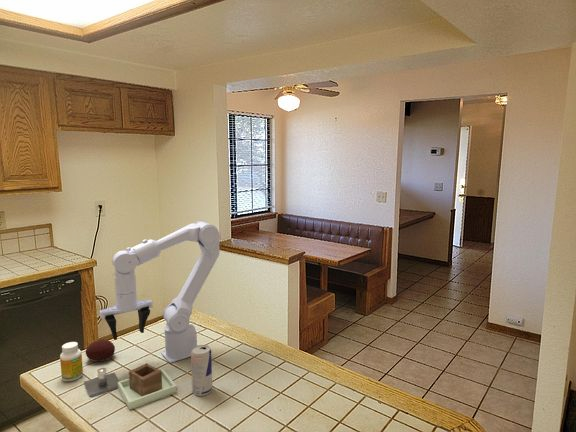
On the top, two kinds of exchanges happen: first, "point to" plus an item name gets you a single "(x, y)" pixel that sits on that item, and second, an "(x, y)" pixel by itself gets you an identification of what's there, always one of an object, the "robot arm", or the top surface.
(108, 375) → the light stand
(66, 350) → the supplement bottle
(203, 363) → the energy drink
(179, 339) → the robot arm
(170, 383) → the tray
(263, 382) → the top surface
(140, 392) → the brown wooden box
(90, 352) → the potato
